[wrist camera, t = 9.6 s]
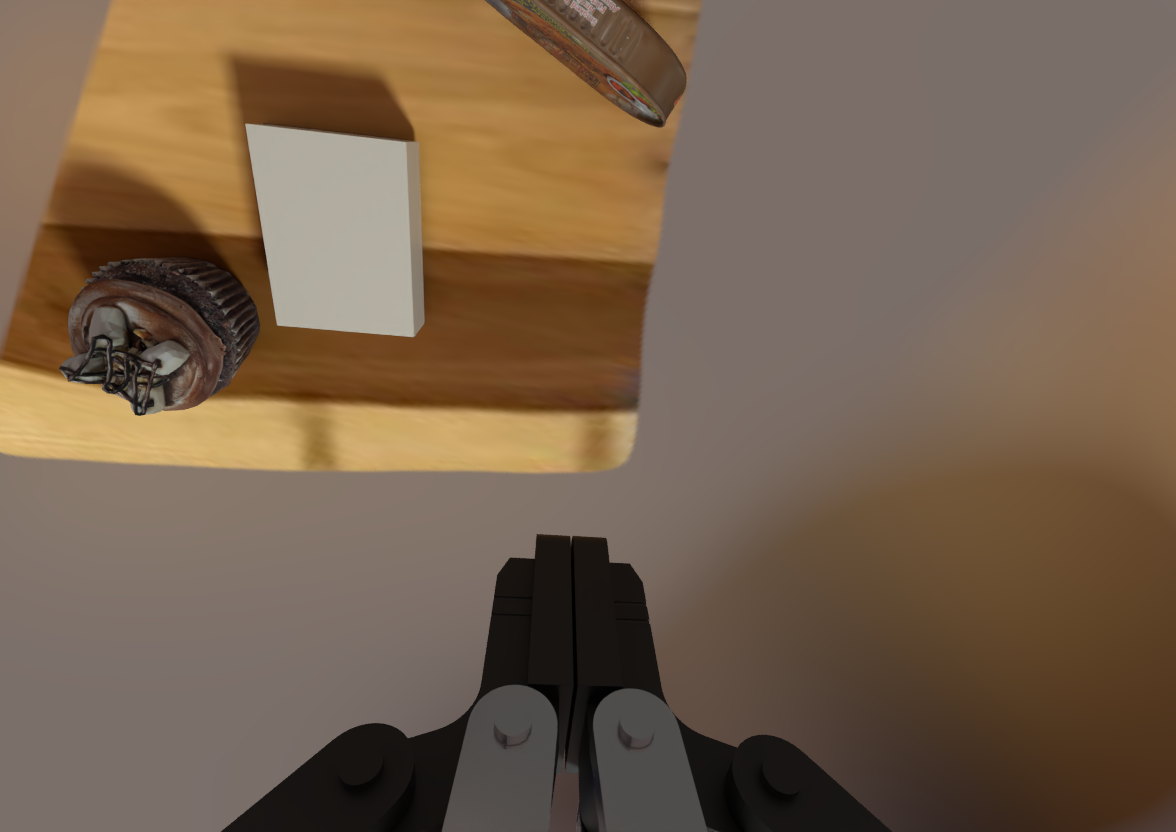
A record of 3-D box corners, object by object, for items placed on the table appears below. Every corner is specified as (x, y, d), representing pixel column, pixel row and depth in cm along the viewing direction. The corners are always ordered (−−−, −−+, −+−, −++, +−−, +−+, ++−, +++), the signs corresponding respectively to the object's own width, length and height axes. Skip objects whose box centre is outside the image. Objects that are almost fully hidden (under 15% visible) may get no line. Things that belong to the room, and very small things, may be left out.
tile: (419, 141, 35) (274, 124, 34) (406, 142, 32) (245, 123, 31) (425, 321, 40) (299, 310, 40) (414, 337, 37) (277, 325, 37)
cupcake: (285, 281, 39) (203, 324, 30) (257, 392, 43) (177, 459, 34) (140, 219, 37) (5, 245, 28) (124, 342, 41) (1, 399, 32)
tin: (442, -33, 31) (404, -86, 24) (469, -92, 30) (438, -167, 23) (648, 133, 36) (671, 133, 28) (678, 87, 35) (710, 74, 27)
